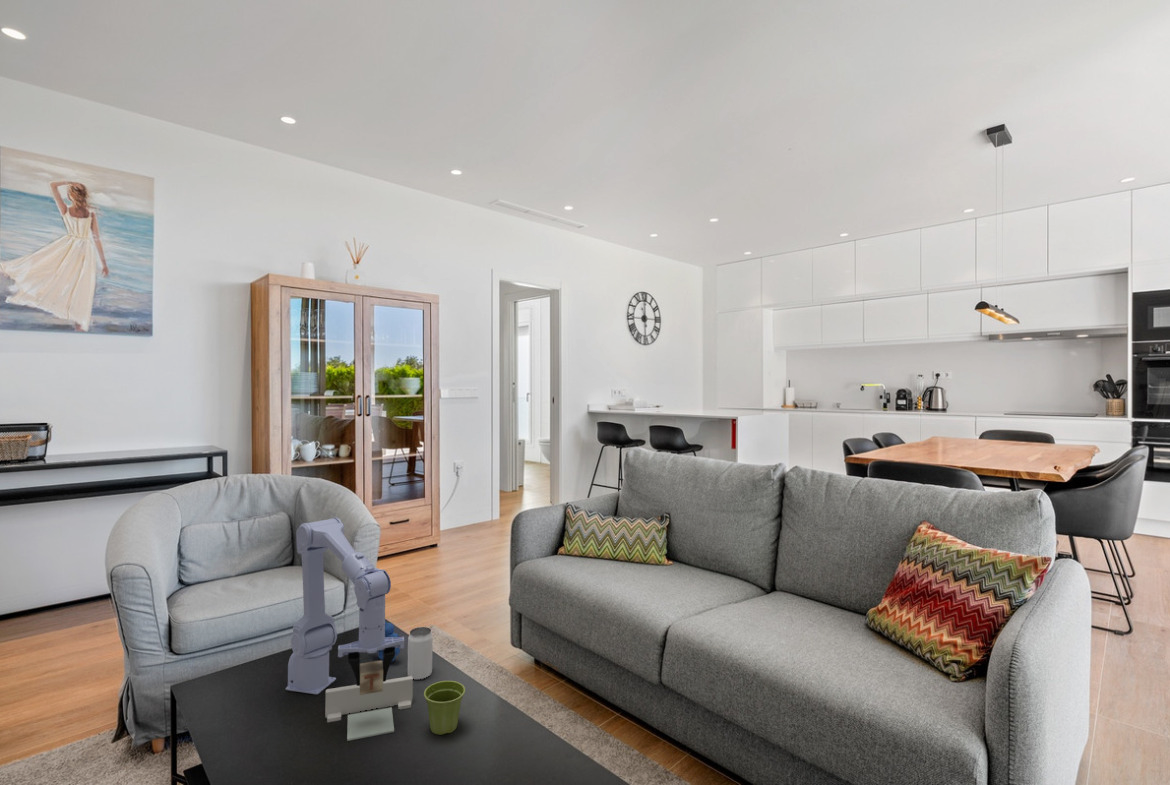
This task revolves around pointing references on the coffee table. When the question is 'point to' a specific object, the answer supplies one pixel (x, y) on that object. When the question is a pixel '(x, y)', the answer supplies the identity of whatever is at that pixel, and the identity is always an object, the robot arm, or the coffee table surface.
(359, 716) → the sage mat
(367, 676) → the maple cube
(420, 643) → the can
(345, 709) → the grey screen
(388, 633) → the grapes
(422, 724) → the coffee table surface
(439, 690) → the plant pot
